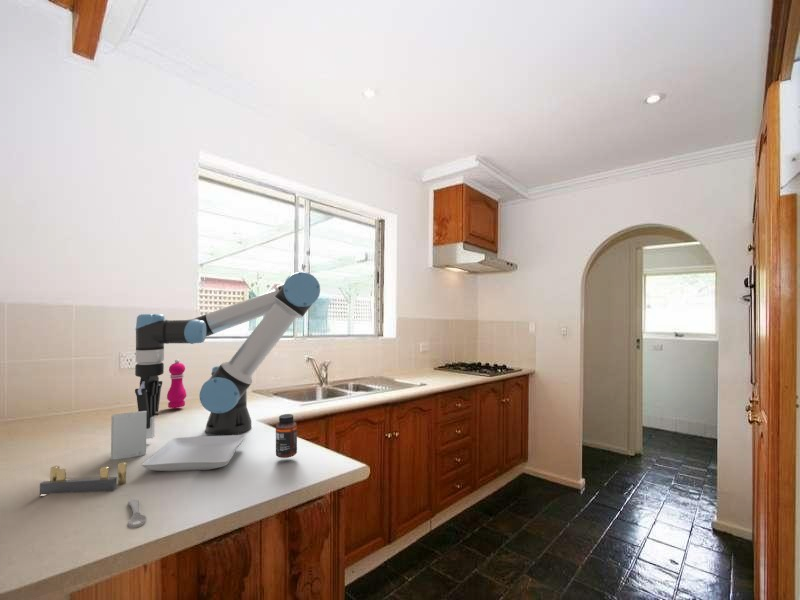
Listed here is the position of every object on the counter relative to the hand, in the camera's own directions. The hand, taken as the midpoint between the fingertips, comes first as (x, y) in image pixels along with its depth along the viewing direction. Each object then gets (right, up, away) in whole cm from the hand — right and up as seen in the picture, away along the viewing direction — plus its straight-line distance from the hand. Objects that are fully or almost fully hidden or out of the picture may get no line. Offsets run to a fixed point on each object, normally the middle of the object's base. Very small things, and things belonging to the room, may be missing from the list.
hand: (148, 437), depth 121 cm
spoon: (+25, -2, -42) cm, 49 cm away
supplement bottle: (+46, -2, -9) cm, 47 cm away
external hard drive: (+2, -2, -12) cm, 12 cm away
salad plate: (+22, -2, -12) cm, 26 cm away
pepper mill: (-16, -2, +43) cm, 46 cm away
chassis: (+5, -1, -30) cm, 31 cm away
